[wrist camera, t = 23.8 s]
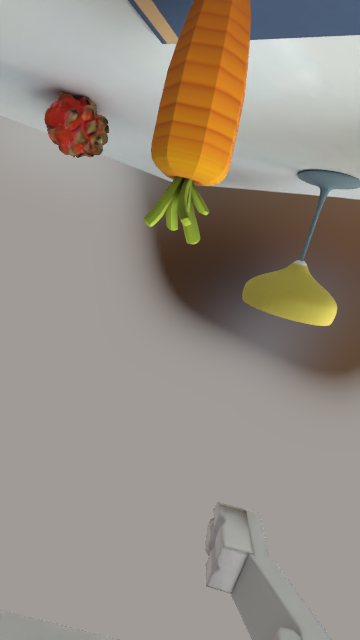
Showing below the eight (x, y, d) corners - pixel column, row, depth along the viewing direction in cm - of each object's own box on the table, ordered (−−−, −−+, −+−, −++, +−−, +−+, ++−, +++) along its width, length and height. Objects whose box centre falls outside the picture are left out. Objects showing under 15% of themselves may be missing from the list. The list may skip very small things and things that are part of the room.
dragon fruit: (112, 84, 41) (69, 80, 47) (55, 102, 37) (18, 95, 44) (128, 152, 47) (88, 140, 54) (80, 173, 44) (45, 157, 50)
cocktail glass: (259, 164, 56) (223, 294, 63) (357, 161, 43) (298, 326, 50) (310, 190, 67) (275, 298, 74) (401, 194, 54) (348, 326, 61)
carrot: (171, -85, 15) (119, 227, 19) (268, -123, 12) (184, 244, 17) (216, -6, 19) (165, 236, 23) (295, -23, 17) (223, 251, 21)
